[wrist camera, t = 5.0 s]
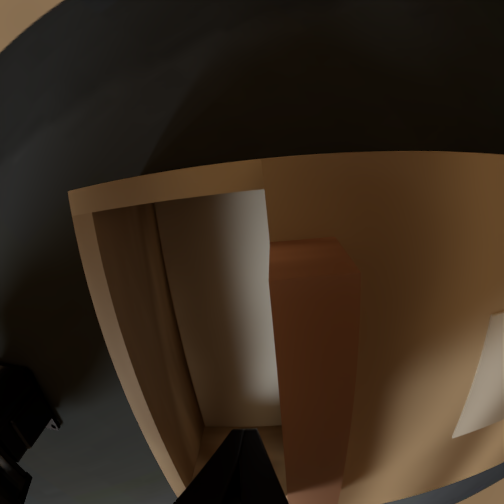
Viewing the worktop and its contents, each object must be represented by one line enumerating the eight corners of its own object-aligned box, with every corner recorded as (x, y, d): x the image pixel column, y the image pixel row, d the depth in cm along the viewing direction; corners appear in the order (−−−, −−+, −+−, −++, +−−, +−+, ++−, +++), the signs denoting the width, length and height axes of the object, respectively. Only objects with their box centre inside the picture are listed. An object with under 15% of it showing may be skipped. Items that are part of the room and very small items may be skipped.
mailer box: (197, 427, 19) (178, 498, 13) (139, 175, 14) (67, 191, 9) (455, 396, 17) (490, 454, 12) (489, 153, 13) (567, 162, 7)
